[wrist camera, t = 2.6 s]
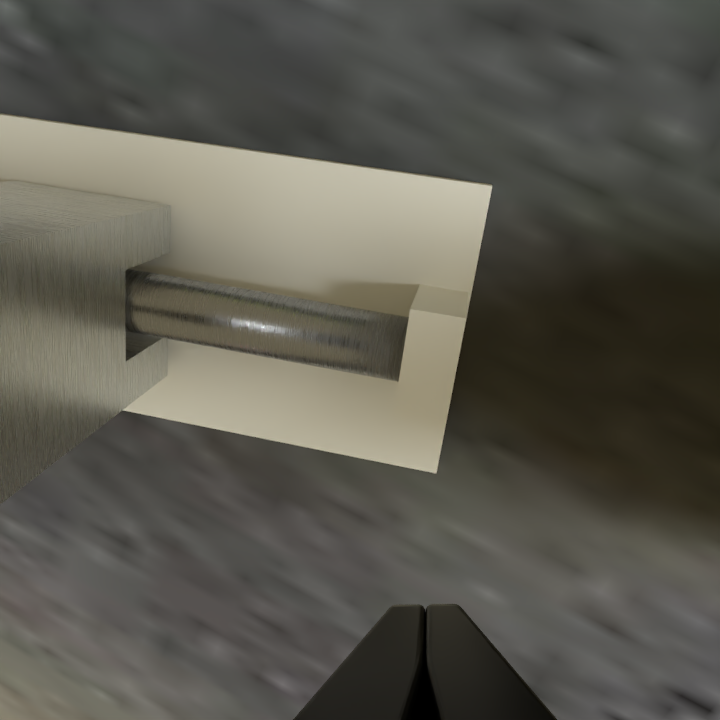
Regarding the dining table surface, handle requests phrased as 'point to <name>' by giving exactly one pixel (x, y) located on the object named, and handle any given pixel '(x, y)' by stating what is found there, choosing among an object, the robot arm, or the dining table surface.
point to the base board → (289, 276)
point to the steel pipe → (265, 324)
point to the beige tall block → (69, 319)
